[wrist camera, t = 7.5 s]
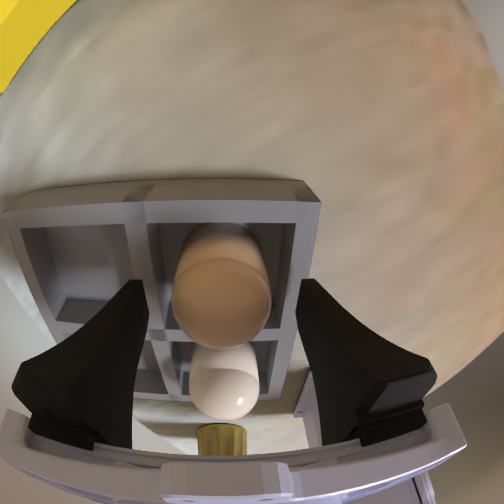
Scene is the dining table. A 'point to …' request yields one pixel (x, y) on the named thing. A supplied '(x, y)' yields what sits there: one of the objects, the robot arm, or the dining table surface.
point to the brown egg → (221, 286)
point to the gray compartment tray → (161, 261)
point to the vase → (222, 440)
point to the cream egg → (224, 381)
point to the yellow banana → (24, 31)
